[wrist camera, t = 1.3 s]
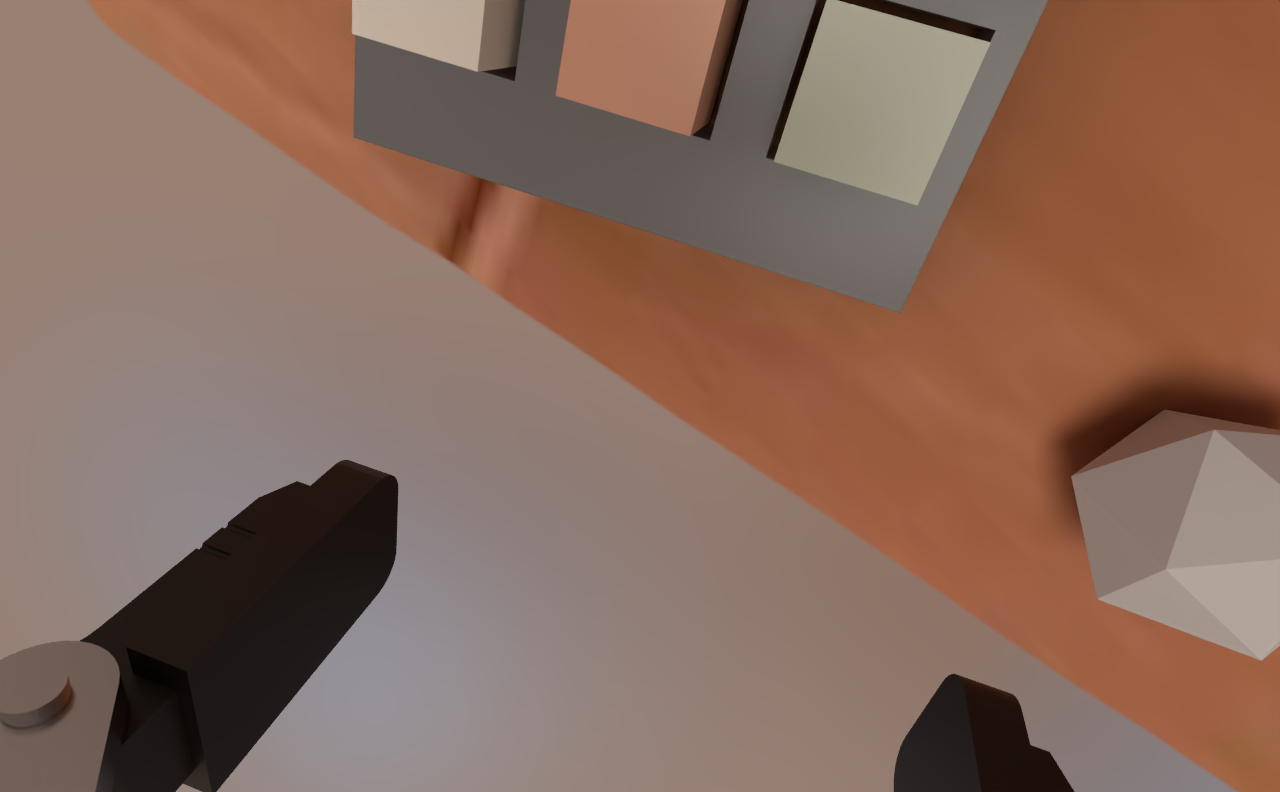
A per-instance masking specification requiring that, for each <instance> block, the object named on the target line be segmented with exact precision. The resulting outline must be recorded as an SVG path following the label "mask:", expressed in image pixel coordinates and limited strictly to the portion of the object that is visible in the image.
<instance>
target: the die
mask: <svg viewBox="0 0 1280 792" xmlns="http://www.w3.org/2000/svg"><path fill="white" fill-rule="evenodd" d="M1071 478H1072V483H1073V487H1074V492H1075V497H1076V502H1077V506H1078V511H1079V516H1080V520H1081V525H1082V530H1083V535H1084V539H1085V544H1086V549H1087V553H1088V558H1089V563H1090V568H1091V572H1092V577H1093V582H1094V586H1095V591H1096V596H1097V599H1098V600H1101V601H1104V602H1106V603H1109V604H1112V605H1114V606H1117V607H1120V608H1122V609H1125V610H1128V611H1130V612H1133V613H1136V614H1138V615H1141V616H1144V617H1146V618H1149V619H1152V620H1154V621H1157V622H1160V623H1162V624H1165V625H1168V626H1170V627H1173V628H1176V629H1178V630H1181V631H1184V632H1186V633H1189V634H1192V635H1194V636H1197V637H1200V638H1202V639H1205V640H1208V641H1210V642H1213V643H1216V644H1218V645H1221V646H1224V647H1226V648H1229V649H1232V650H1234V651H1237V652H1240V653H1242V654H1245V655H1248V656H1250V657H1253V658H1256V659H1258V660H1263V659H1264V658H1265V657H1266V656H1268V655H1269V654H1270V653H1271V652H1273V651H1274V650H1275V649H1276V648H1277V647H1279V646H1280V430H1276V429H1270V428H1265V427H1259V426H1254V425H1248V424H1242V423H1237V422H1231V421H1226V420H1220V419H1215V418H1209V417H1204V416H1198V415H1192V414H1187V413H1181V412H1176V411H1170V410H1165V409H1164V410H1163V411H1161V412H1160V413H1159V414H1157V415H1156V416H1155V417H1153V418H1152V419H1150V420H1149V421H1148V422H1146V423H1145V424H1143V425H1142V426H1141V427H1139V428H1138V429H1136V430H1135V431H1134V432H1132V433H1131V434H1129V435H1128V436H1127V437H1125V438H1124V439H1122V440H1121V441H1120V442H1118V443H1117V444H1115V445H1114V446H1113V447H1111V448H1110V449H1108V450H1107V451H1106V452H1104V453H1103V454H1101V455H1100V456H1099V457H1097V458H1096V459H1094V460H1093V461H1092V462H1090V463H1089V464H1087V465H1086V466H1085V467H1083V468H1082V469H1080V470H1079V471H1078V472H1076V473H1075V474H1073V475H1072V476H1071Z"/></svg>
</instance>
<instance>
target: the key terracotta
mask: <svg viewBox="0 0 1280 792" xmlns="http://www.w3.org/2000/svg"><path fill="white" fill-rule="evenodd" d="M742 2H743V0H571V2H570V9H569V15H568V21H567V27H566V34H565V40H564V46H563V52H562V58H561V65H560V71H559V77H558V83H557V90H556V96H559V97H562V98H565V99H568V100H572V101H575V102H578V103H582V104H585V105H588V106H591V107H595V108H598V109H601V110H605V111H608V112H611V113H615V114H618V115H621V116H624V117H628V118H631V119H634V120H638V121H641V122H644V123H647V124H651V125H654V126H657V127H661V128H664V129H667V130H670V131H674V132H677V133H680V134H684V135H687V136H691V135H693V134H694V133H695V132H697V131H698V130H699V129H701V128H702V127H703V126H705V125H706V124H707V123H709V122H710V119H711V115H712V111H713V108H714V104H715V100H716V97H717V93H718V89H719V86H720V82H721V78H722V75H723V71H724V67H725V64H726V60H727V56H728V53H729V49H730V46H731V42H732V38H733V35H734V31H735V27H736V24H737V20H738V16H739V13H740V9H741V5H742Z"/></svg>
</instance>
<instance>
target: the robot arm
mask: <svg viewBox="0 0 1280 792" xmlns="http://www.w3.org/2000/svg"><path fill="white" fill-rule="evenodd" d="M397 512H398V482H397V479H396V478H395V477H394V476H392V475H389V474H387V473H383V472H381V471H378V470H375V469H372V468H369V467H367V466H363V465H361V464H358V463H355V462H352V461H349V460H343V461H340V462H338V463H337V464H335V465H334V466H333V467H332V468H331V469H329V470H328V471H327V472H326V473H325V474H324V475H323V476H321V477H320V478H319V479H318V480H317V481H316V482H315V483H313V484H312V485H311V486H309V485H306V484H303V483H300V482H298V481H297V482H294V483H292V484H290V485H288V486H285V487H283V488H280V489H278V490H276V491H273V492H271V493H269V494H267V495H264V496H262V497H259V498H258V499H257V500H255V501H254V502H253V503H252V504H250V505H249V506H248V507H247V508H246V509H244V510H243V511H242V512H241V513H239V514H238V515H237V516H236V517H234V518H233V519H232V520H231V521H229V522H228V526H227V527H226V528H221V529H220V530H218V531H217V532H216V533H215V534H213V535H212V536H211V537H210V538H209V539H208V540H206V541H205V542H204V543H203V545H202V548H200V549H195V550H194V551H193V552H192V553H190V554H189V555H188V556H187V557H185V558H184V559H183V560H182V561H180V562H179V563H178V564H177V565H175V566H174V567H173V568H172V569H171V570H169V571H168V572H167V573H166V574H164V575H163V576H162V577H161V578H159V579H158V580H157V581H156V582H155V583H153V584H152V585H151V586H150V587H148V588H147V589H146V590H145V591H143V592H142V593H141V594H140V595H139V596H137V597H136V598H135V599H134V600H132V602H130V603H129V604H128V605H126V606H125V607H124V608H123V609H122V610H120V611H119V612H118V613H117V614H115V615H114V616H113V617H112V618H110V619H109V620H108V621H107V622H106V623H104V624H103V625H102V626H101V627H99V628H98V629H97V630H96V631H94V632H93V633H91V634H90V635H88V636H87V637H85V638H84V639H82V640H80V641H60V642H51V643H47V644H42V645H37V646H34V647H31V648H28V649H24V650H21V651H19V652H17V653H14V654H12V655H10V656H7V657H5V658H3V659H2V660H0V792H176V790H177V789H178V788H179V787H180V786H181V785H182V784H186V785H188V786H190V787H193V788H195V789H197V790H200V791H202V792H216V791H217V790H218V789H219V788H220V787H221V785H222V784H223V783H224V782H225V780H226V779H227V778H228V777H229V775H230V774H231V773H232V772H233V771H234V769H235V768H236V767H237V766H238V765H239V763H240V762H241V761H242V760H243V758H244V757H245V756H246V755H247V754H248V752H249V751H250V750H251V749H252V747H253V746H254V745H255V744H256V742H257V741H258V740H259V739H260V738H261V736H262V735H263V734H264V733H265V731H266V730H267V729H268V728H269V727H270V725H271V724H272V723H273V722H274V720H275V719H276V718H277V717H278V716H279V714H280V713H281V712H282V711H283V709H284V708H285V707H286V706H287V705H288V703H289V702H290V701H291V700H292V698H293V697H294V696H295V695H296V694H297V692H298V691H299V690H300V689H301V687H302V686H303V685H304V684H305V682H306V681H307V680H308V679H309V678H310V676H311V675H312V674H313V672H315V670H316V669H317V668H318V667H319V665H320V664H321V663H322V662H323V660H324V659H325V658H326V657H327V655H328V654H329V653H330V652H331V651H332V650H333V648H334V647H335V646H336V645H337V643H338V642H339V641H340V640H341V639H342V637H343V636H344V635H345V634H346V632H347V631H348V630H349V629H350V628H351V626H352V625H353V624H354V623H355V621H356V620H357V619H358V618H359V617H360V615H361V614H362V613H363V612H364V610H365V609H366V608H367V607H368V605H369V604H370V603H371V602H372V601H373V599H374V598H375V597H376V596H377V595H378V593H379V592H380V590H381V589H382V587H383V586H384V584H385V582H386V581H387V578H388V577H389V574H390V572H391V570H392V567H393V564H394V561H395V556H396V545H397V543H396V542H397ZM894 792H1074V790H1073V789H1072V787H1071V786H1070V784H1069V782H1068V781H1067V779H1066V778H1065V776H1064V774H1063V773H1062V771H1061V770H1060V768H1059V766H1058V765H1057V763H1056V762H1055V760H1054V758H1053V757H1052V755H1051V754H1050V752H1048V751H1045V750H1042V749H1040V748H1037V747H1034V746H1031V745H1030V742H1029V738H1028V734H1027V730H1026V726H1025V722H1024V717H1023V713H1022V709H1021V706H1020V704H1019V702H1018V700H1017V698H1016V697H1015V696H1014V695H1013V694H1011V693H1008V692H1005V691H1002V690H999V689H996V688H993V687H990V686H988V685H985V684H982V683H979V682H976V681H973V680H970V679H968V678H965V677H962V676H959V675H956V674H951V675H949V676H948V677H946V678H945V680H944V681H943V682H942V684H941V685H940V687H939V688H938V690H937V691H936V692H935V694H934V695H933V697H932V698H931V700H930V701H929V703H928V704H927V706H926V707H925V709H924V710H923V712H922V713H921V715H920V716H919V718H918V719H917V721H916V722H915V724H914V725H913V727H912V728H911V730H910V731H909V732H908V734H907V735H906V737H905V739H904V741H903V743H902V745H901V747H900V750H899V753H898V757H897V761H896V766H895V773H894Z"/></svg>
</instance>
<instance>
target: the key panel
mask: <svg viewBox="0 0 1280 792" xmlns="http://www.w3.org/2000/svg"><path fill="white" fill-rule="evenodd" d="M877 1H881V2H885V3H888V4H892V5H895V6H899V7H903V8H906V9H910V10H914V11H917V12H921V13H925V14H928V15H932V16H935V17H939V18H943V19H946V20H950V21H954V22H957V23H961V24H965V25H968V26H972V27H976V28H979V29H981V30H980V32H979V34H978V37H977V39H980V40H983V41H987V42H991V43H990V45H989V48H988V50H987V52H986V54H985V57H984V59H983V61H982V63H981V65H980V68H979V70H978V72H977V74H976V77H975V79H974V81H973V83H972V86H971V88H970V90H969V92H968V94H967V97H966V99H965V101H964V103H963V106H962V108H961V110H960V112H959V114H958V117H957V119H956V121H955V123H954V126H953V128H952V130H951V132H950V135H949V137H948V139H947V141H946V143H945V146H944V148H943V150H942V152H941V155H940V157H939V159H938V161H937V163H936V166H935V168H934V170H933V172H932V175H931V177H930V179H929V181H928V184H927V186H926V188H925V190H924V192H923V195H922V197H921V199H920V201H919V204H918V206H917V205H914V204H911V203H907V202H904V201H901V200H897V199H894V198H891V197H888V196H884V195H881V194H878V193H874V192H871V191H868V190H865V189H861V188H858V187H855V186H851V185H848V184H845V183H842V182H838V181H835V180H832V179H828V178H825V177H822V176H818V175H815V174H812V173H809V172H805V171H802V170H799V169H795V168H792V167H789V166H786V165H782V164H779V163H776V162H774V159H775V156H776V153H777V150H778V147H777V146H774V145H773V144H774V141H775V138H776V135H777V132H778V129H779V126H780V123H781V120H782V117H783V114H784V111H785V107H786V104H787V101H788V98H789V95H790V92H791V89H792V86H793V83H794V80H795V77H796V74H797V70H798V67H799V64H800V61H801V58H802V55H803V52H804V49H805V46H806V43H807V40H808V37H809V33H810V30H811V27H812V24H813V21H814V18H815V15H816V12H817V9H818V6H819V3H820V0H749V2H748V6H747V9H746V13H745V16H744V20H743V24H742V27H741V31H740V34H739V38H738V42H737V45H736V49H735V52H734V56H733V60H732V63H731V67H730V70H729V74H728V78H727V81H726V85H725V88H724V92H723V96H722V99H721V103H720V106H719V110H718V114H717V117H716V121H715V124H714V127H711V126H708V125H705V126H703V127H702V128H701V129H699V130H698V131H697V132H695V133H694V134H693V135H691V136H687V135H684V134H680V133H677V132H674V131H670V130H667V129H664V128H661V127H657V126H654V125H651V124H647V123H644V122H641V121H638V120H634V119H631V118H628V117H624V116H621V115H618V114H615V113H611V112H608V111H605V110H601V109H598V108H595V107H591V106H588V105H585V104H582V103H578V102H575V101H572V100H568V99H565V98H562V97H559V96H556V90H557V83H558V77H559V71H560V65H561V58H562V52H563V46H564V40H565V34H566V27H567V21H568V15H569V9H570V2H571V0H525V7H524V15H523V22H522V30H521V38H520V45H519V53H518V61H517V68H515V67H508V68H501V69H494V70H487V71H480V72H476V71H473V70H470V69H466V68H463V67H460V66H457V65H453V64H450V63H447V62H443V61H440V60H437V59H434V58H430V57H427V56H424V55H420V54H417V53H414V52H411V51H407V50H404V49H401V48H397V47H394V46H391V45H388V44H384V43H381V42H378V41H374V40H371V39H368V38H364V37H361V36H358V35H356V45H355V95H354V138H357V139H360V140H363V141H366V142H370V143H373V144H376V145H379V146H382V147H385V148H388V149H391V150H394V151H398V152H401V153H404V154H407V155H410V156H413V157H416V158H419V159H422V160H426V161H429V162H432V163H435V164H438V165H441V166H444V167H447V168H451V169H454V170H457V171H460V172H463V173H466V174H469V175H472V176H475V177H479V178H482V179H485V180H488V181H491V182H494V183H497V184H500V185H503V186H507V187H510V188H513V189H516V190H519V191H522V192H525V193H528V194H531V195H535V196H538V197H541V198H544V199H547V200H550V201H553V202H556V203H560V204H563V205H566V206H569V207H572V208H575V209H578V210H581V211H584V212H588V213H591V214H594V215H597V216H600V217H603V218H606V219H609V220H612V221H616V222H619V223H622V224H625V225H628V226H631V227H634V228H637V229H641V230H644V231H647V232H650V233H653V234H656V235H659V236H662V237H665V238H669V239H672V240H675V241H678V242H681V243H684V244H687V245H690V246H693V247H697V248H700V249H703V250H706V251H709V252H712V253H715V254H718V255H722V256H725V257H728V258H731V259H734V260H737V261H740V262H743V263H746V264H750V265H753V266H756V267H759V268H762V269H765V270H768V271H771V272H774V273H778V274H781V275H784V276H787V277H790V278H793V279H796V280H799V281H802V282H806V283H809V284H812V285H815V286H818V287H821V288H824V289H827V290H831V291H834V292H837V293H840V294H843V295H846V296H849V297H852V298H855V299H859V300H862V301H865V302H868V303H871V304H874V305H877V306H880V307H883V308H887V309H890V310H893V311H896V312H899V313H900V312H901V310H902V308H903V306H904V304H905V301H906V299H907V297H908V295H909V293H910V291H911V289H912V287H913V285H914V282H915V280H916V278H917V276H918V274H919V272H920V270H921V268H922V266H923V263H924V261H925V259H926V257H927V255H928V253H929V251H930V249H931V247H932V245H933V242H934V240H935V238H936V236H937V234H938V232H939V230H940V228H941V226H942V223H943V221H944V219H945V217H946V215H947V213H948V211H949V209H950V207H951V204H952V202H953V200H954V198H955V196H956V194H957V192H958V190H959V188H960V185H961V183H962V181H963V179H964V177H965V175H966V173H967V171H968V169H969V167H970V164H971V162H972V160H973V158H974V156H975V154H976V152H977V150H978V148H979V145H980V143H981V141H982V139H983V137H984V135H985V133H986V131H987V129H988V126H989V124H990V122H991V120H992V118H993V116H994V114H995V112H996V110H997V107H998V105H999V103H1000V101H1001V99H1002V97H1003V95H1004V93H1005V91H1006V89H1007V86H1008V84H1009V82H1010V80H1011V78H1012V76H1013V74H1014V72H1015V70H1016V67H1017V65H1018V63H1019V61H1020V59H1021V57H1022V55H1023V53H1024V51H1025V48H1026V46H1027V44H1028V42H1029V40H1030V38H1031V36H1032V34H1033V32H1034V29H1035V27H1036V25H1037V23H1038V21H1039V19H1040V17H1041V15H1042V13H1043V10H1044V8H1045V6H1046V4H1047V2H1048V0H877Z"/></svg>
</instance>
